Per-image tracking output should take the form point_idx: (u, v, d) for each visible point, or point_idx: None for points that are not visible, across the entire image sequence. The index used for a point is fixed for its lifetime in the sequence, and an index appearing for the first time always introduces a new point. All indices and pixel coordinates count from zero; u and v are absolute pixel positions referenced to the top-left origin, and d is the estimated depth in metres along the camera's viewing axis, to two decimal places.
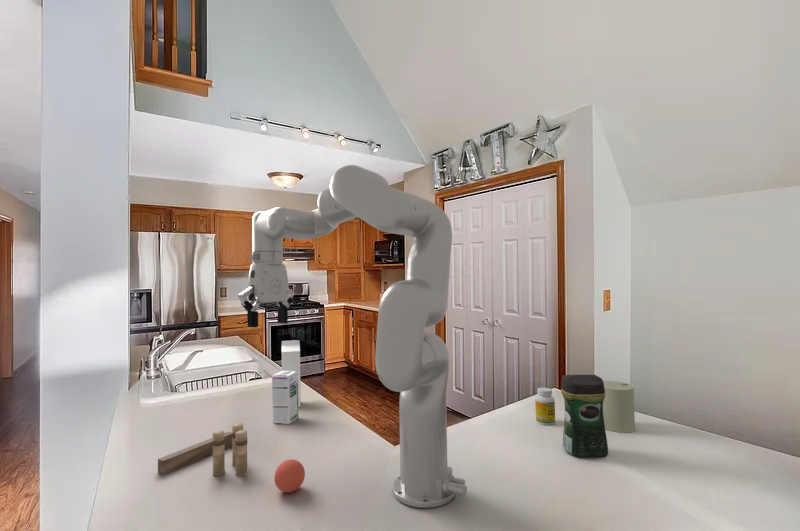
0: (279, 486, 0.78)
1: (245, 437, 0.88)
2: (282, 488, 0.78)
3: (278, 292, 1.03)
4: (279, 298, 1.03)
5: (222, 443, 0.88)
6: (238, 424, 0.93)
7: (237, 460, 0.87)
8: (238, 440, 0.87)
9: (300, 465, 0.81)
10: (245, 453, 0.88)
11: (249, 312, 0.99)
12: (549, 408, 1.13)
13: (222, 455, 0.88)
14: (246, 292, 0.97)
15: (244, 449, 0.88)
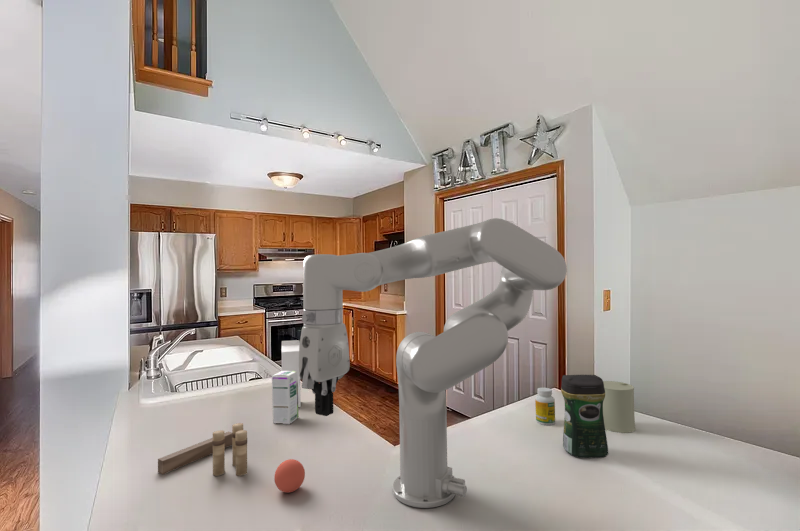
0: (279, 486, 0.78)
1: (245, 437, 0.88)
2: (282, 488, 0.78)
3: (338, 363, 0.76)
4: (339, 371, 0.76)
5: (222, 443, 0.88)
6: (238, 424, 0.93)
7: (237, 460, 0.87)
8: (238, 440, 0.87)
9: (300, 465, 0.81)
10: (245, 453, 0.88)
11: (318, 396, 0.75)
12: (549, 408, 1.13)
13: (222, 455, 0.88)
14: (308, 379, 0.72)
15: (244, 449, 0.88)
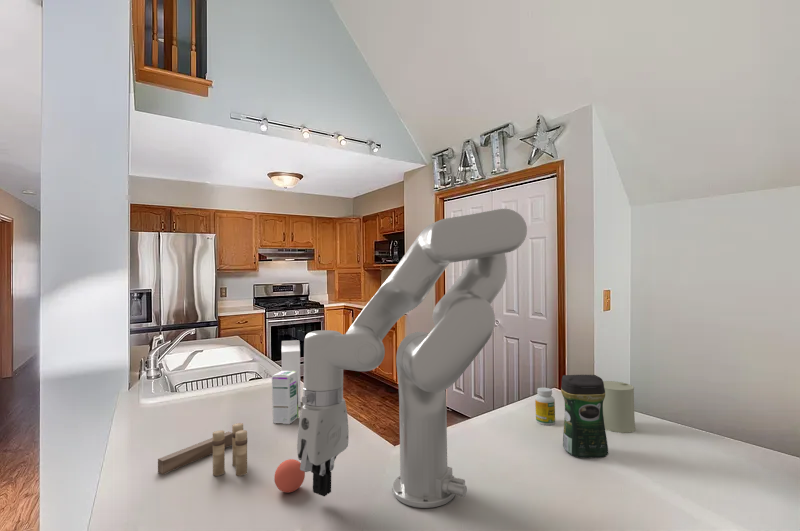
0: (279, 486, 0.78)
1: (245, 437, 0.88)
2: (282, 488, 0.78)
3: (337, 442, 0.76)
4: (338, 450, 0.76)
5: (222, 443, 0.88)
6: (238, 424, 0.93)
7: (237, 460, 0.87)
8: (238, 440, 0.87)
9: None
10: (245, 453, 0.88)
11: (316, 476, 0.75)
12: (549, 408, 1.13)
13: (222, 455, 0.88)
14: (307, 461, 0.72)
15: (244, 449, 0.88)
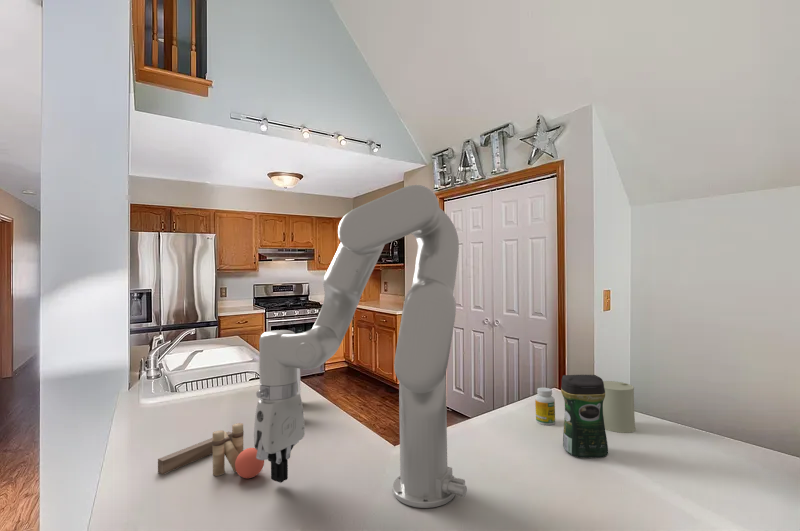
0: (236, 465, 0.85)
1: (225, 435, 0.92)
2: (235, 464, 0.85)
3: (292, 433, 0.82)
4: (293, 440, 0.82)
5: (222, 443, 0.88)
6: (238, 424, 0.93)
7: (228, 457, 0.89)
8: None
9: None
10: (232, 448, 0.90)
11: (273, 464, 0.81)
12: (549, 408, 1.13)
13: (222, 455, 0.88)
14: (262, 451, 0.78)
15: (230, 444, 0.91)
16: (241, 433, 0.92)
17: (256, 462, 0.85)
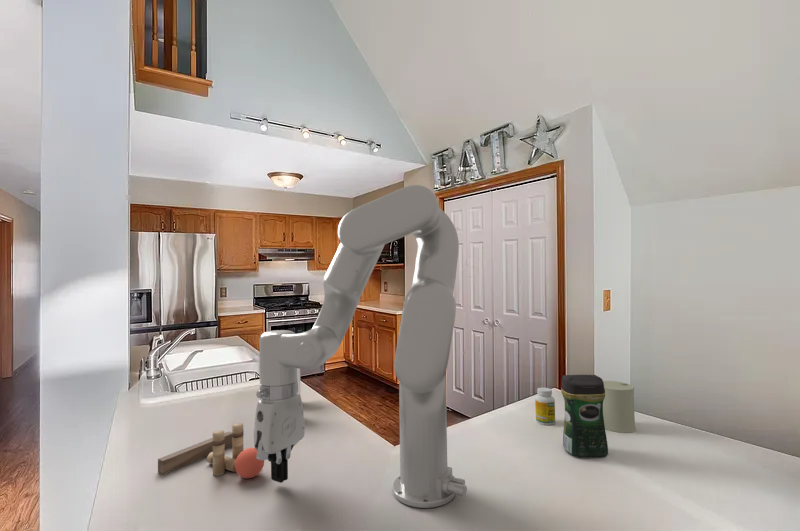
0: (236, 465, 0.85)
1: None
2: (235, 464, 0.85)
3: (292, 433, 0.82)
4: (293, 440, 0.82)
5: (222, 443, 0.88)
6: (238, 424, 0.93)
7: None
8: (210, 458, 0.92)
9: None
10: None
11: (273, 464, 0.81)
12: (549, 408, 1.13)
13: (222, 455, 0.88)
14: (262, 451, 0.78)
15: None
16: (241, 433, 0.93)
17: (256, 462, 0.85)
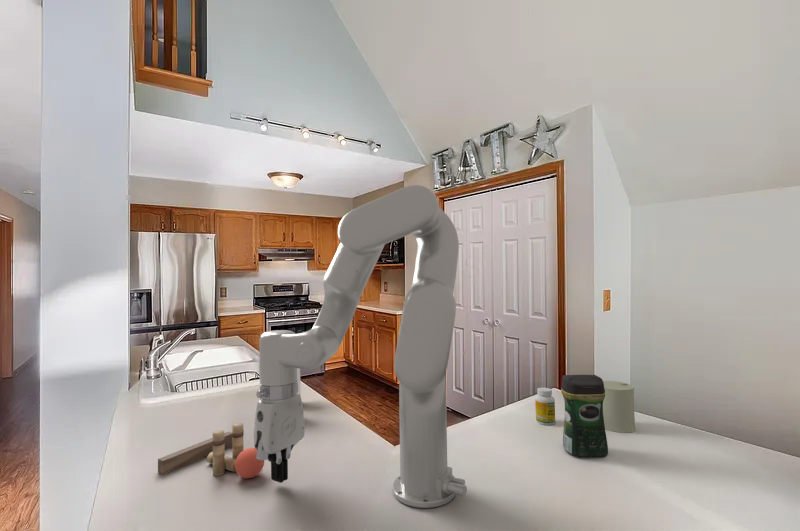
0: (236, 465, 0.85)
1: None
2: (235, 464, 0.85)
3: (292, 433, 0.82)
4: (293, 440, 0.82)
5: (222, 443, 0.88)
6: (238, 424, 0.93)
7: None
8: (210, 458, 0.92)
9: None
10: None
11: (273, 464, 0.81)
12: (549, 408, 1.13)
13: (222, 455, 0.88)
14: (262, 451, 0.78)
15: None
16: (241, 433, 0.93)
17: (256, 462, 0.85)
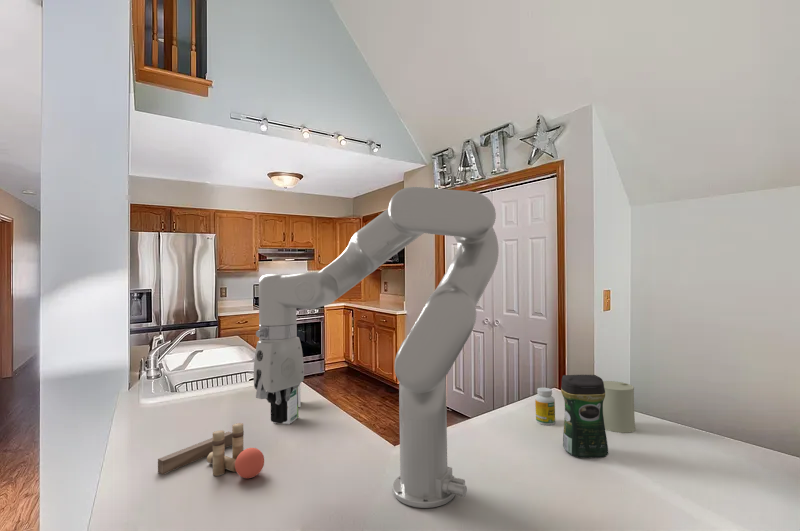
0: (236, 465, 0.85)
1: None
2: (235, 464, 0.85)
3: (291, 375, 0.82)
4: (292, 382, 0.83)
5: (222, 443, 0.88)
6: (238, 424, 0.93)
7: None
8: (210, 458, 0.92)
9: None
10: None
11: (273, 405, 0.82)
12: (549, 408, 1.13)
13: (222, 455, 0.88)
14: (262, 389, 0.79)
15: None
16: (241, 433, 0.93)
17: (256, 462, 0.85)
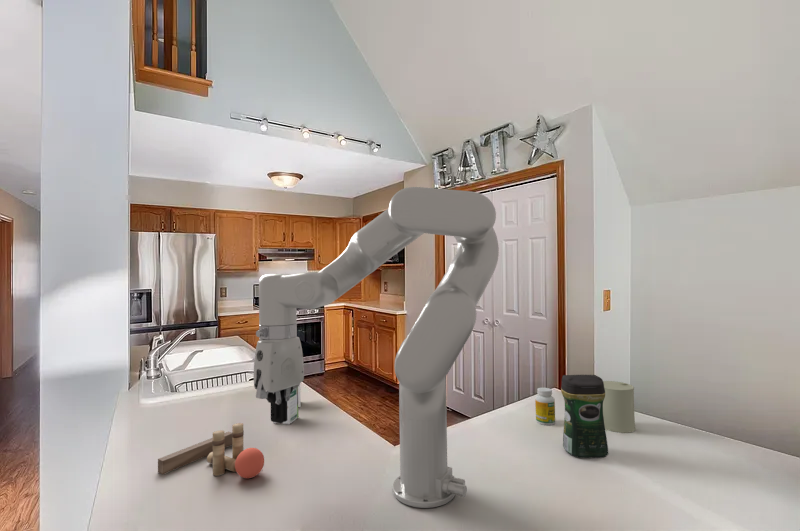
0: (236, 465, 0.85)
1: None
2: (235, 464, 0.85)
3: (291, 375, 0.82)
4: (292, 382, 0.83)
5: (222, 443, 0.88)
6: (238, 424, 0.93)
7: None
8: (210, 458, 0.92)
9: None
10: None
11: (273, 405, 0.82)
12: (549, 408, 1.13)
13: (222, 455, 0.88)
14: (262, 389, 0.79)
15: None
16: (241, 433, 0.93)
17: (256, 462, 0.85)
